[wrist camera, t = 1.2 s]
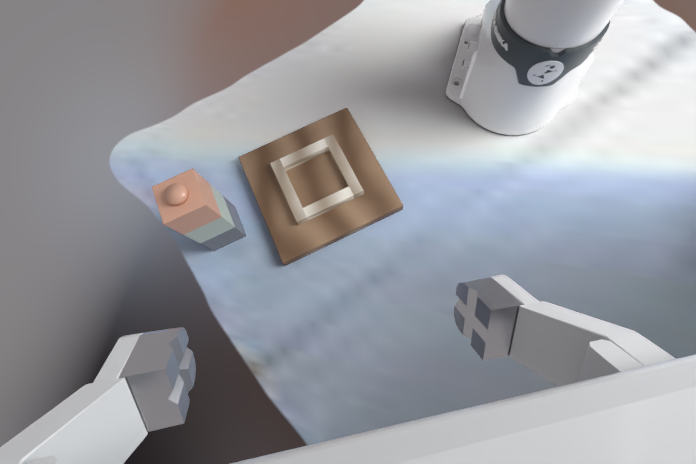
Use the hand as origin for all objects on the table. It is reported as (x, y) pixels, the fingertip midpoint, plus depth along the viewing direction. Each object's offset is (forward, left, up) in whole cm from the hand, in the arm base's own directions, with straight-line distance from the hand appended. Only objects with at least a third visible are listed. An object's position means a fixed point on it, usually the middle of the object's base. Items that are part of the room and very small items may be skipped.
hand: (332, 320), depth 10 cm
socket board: (-20, -9, -35) cm, 41 cm away
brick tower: (-12, -22, -35) cm, 43 cm away
